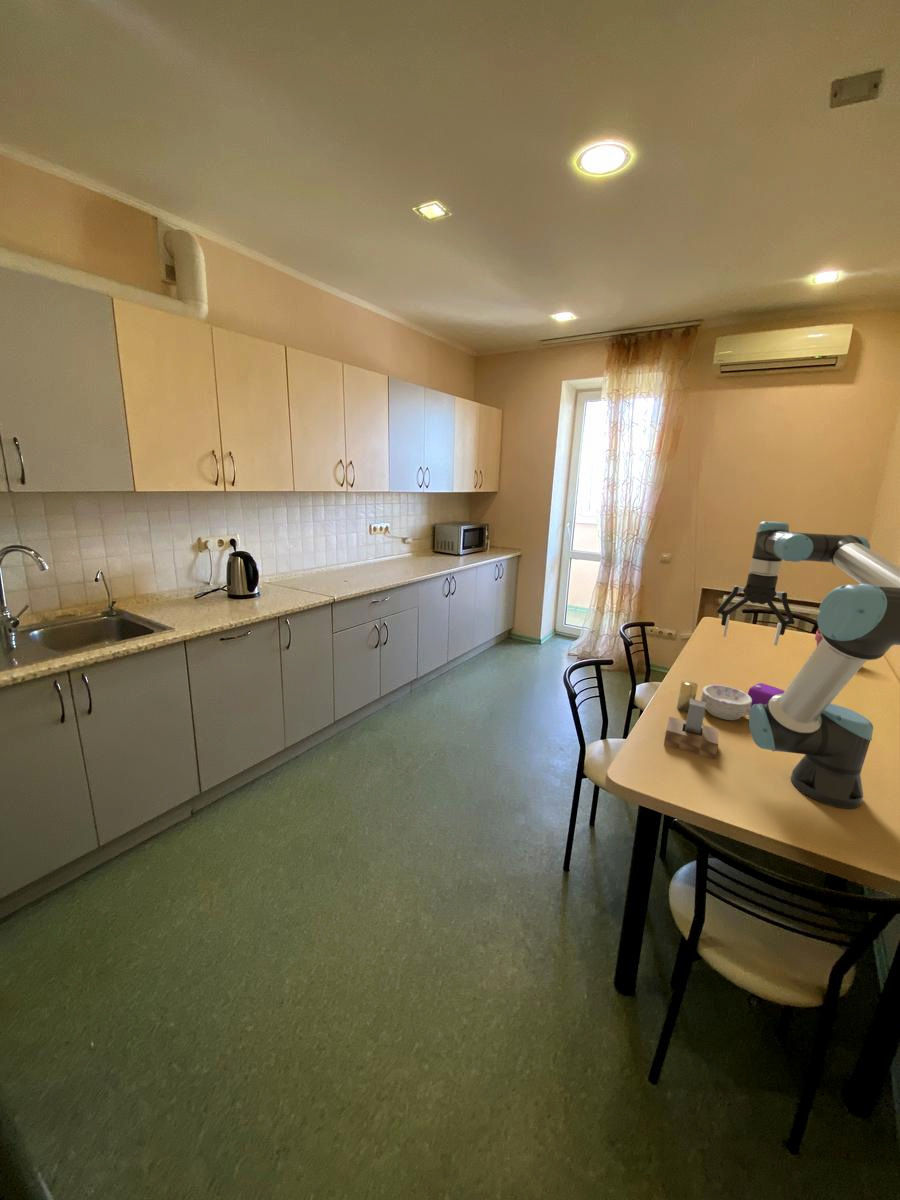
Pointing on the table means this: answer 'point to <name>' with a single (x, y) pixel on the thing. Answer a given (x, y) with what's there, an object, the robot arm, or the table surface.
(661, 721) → the table surface
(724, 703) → the paper bowls
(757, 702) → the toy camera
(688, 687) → the cylinder
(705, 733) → the bore block
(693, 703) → the square bit
